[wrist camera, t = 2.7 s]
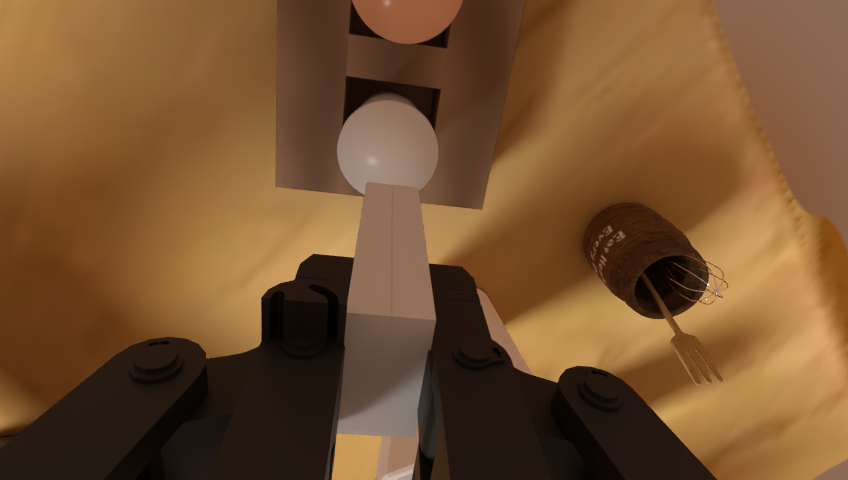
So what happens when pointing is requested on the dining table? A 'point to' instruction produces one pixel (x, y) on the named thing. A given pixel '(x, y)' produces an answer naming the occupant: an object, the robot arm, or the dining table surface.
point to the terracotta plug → (407, 18)
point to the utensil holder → (651, 271)
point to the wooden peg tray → (392, 71)
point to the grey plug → (387, 143)
